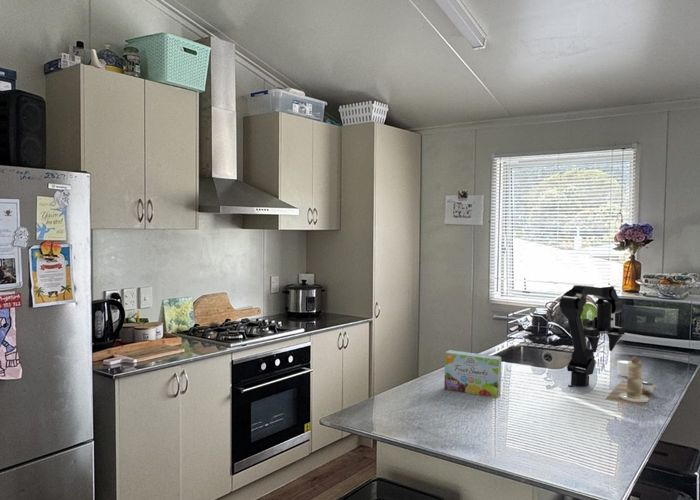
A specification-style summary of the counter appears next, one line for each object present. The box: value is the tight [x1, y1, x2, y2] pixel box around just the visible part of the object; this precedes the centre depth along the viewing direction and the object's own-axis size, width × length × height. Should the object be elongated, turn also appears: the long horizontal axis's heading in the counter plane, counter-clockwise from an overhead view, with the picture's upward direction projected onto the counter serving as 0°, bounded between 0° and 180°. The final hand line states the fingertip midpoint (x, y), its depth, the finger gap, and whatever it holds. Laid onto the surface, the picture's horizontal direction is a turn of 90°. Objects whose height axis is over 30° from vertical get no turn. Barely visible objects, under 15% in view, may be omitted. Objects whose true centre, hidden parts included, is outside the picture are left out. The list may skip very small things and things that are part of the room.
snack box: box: [443, 349, 502, 399], centre depth 225 cm, size 21×6×15 cm, turn 62°
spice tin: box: [641, 380, 655, 396], centre depth 225 cm, size 4×4×4 cm
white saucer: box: [619, 393, 650, 403], centre depth 218 cm, size 10×10×1 cm
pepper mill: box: [626, 356, 643, 399], centre depth 217 cm, size 5×5×15 cm
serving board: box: [605, 380, 657, 407], centre depth 226 cm, size 34×13×1 cm, turn 145°
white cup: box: [616, 359, 630, 378], centre depth 253 cm, size 7×7×7 cm
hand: (602, 351), depth 245 cm, fingers open, 9 cm apart
